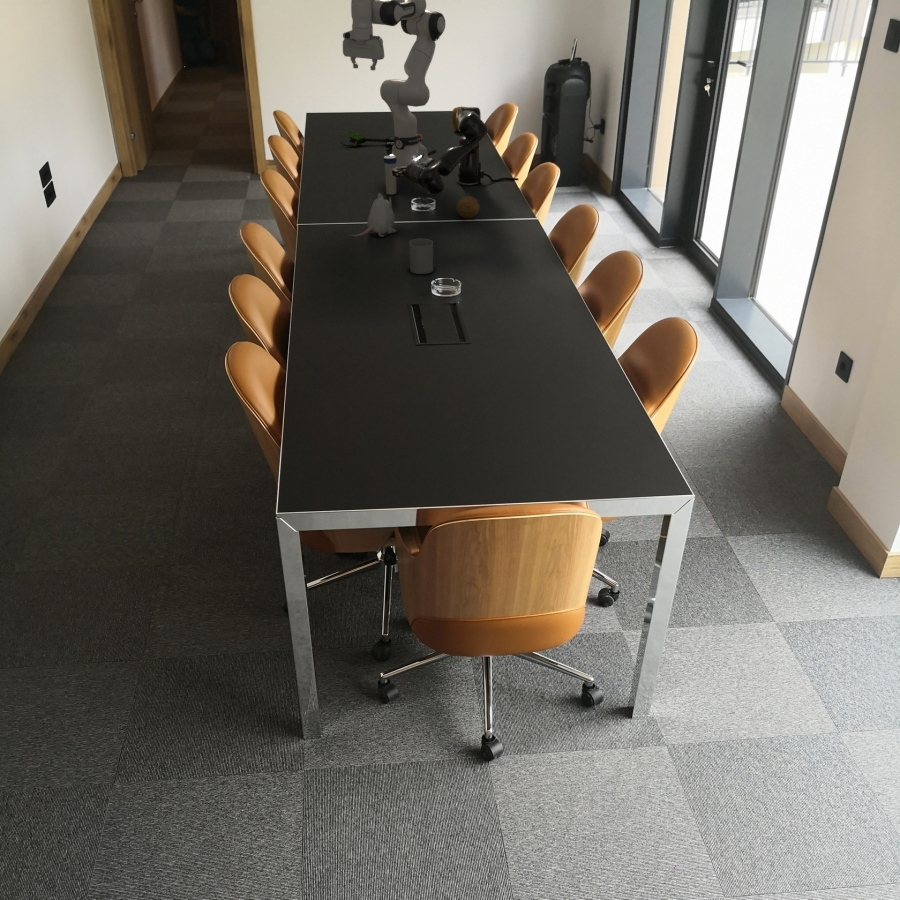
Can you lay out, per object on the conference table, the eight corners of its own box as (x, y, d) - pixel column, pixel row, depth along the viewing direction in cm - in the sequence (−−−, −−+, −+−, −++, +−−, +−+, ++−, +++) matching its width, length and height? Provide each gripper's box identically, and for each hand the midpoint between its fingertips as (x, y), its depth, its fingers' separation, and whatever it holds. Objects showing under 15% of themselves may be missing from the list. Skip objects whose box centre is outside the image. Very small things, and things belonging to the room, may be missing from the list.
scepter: (396, 128, 463) (340, 126, 461) (396, 143, 456) (339, 141, 454) (396, 138, 468) (340, 135, 466) (396, 153, 461) (339, 151, 459)
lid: (383, 160, 383) (383, 155, 382) (395, 160, 384) (395, 155, 382) (384, 164, 378) (384, 158, 377) (397, 163, 379) (396, 158, 378)
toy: (401, 232, 342) (400, 194, 334) (357, 247, 328) (354, 207, 320) (386, 227, 348) (384, 189, 339) (341, 241, 333) (338, 202, 325)
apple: (471, 132, 486) (471, 108, 479) (451, 132, 486) (451, 108, 479) (470, 128, 495) (471, 104, 488) (452, 128, 495) (452, 104, 488)
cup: (409, 265, 311) (408, 238, 306) (432, 265, 312) (431, 238, 307) (410, 274, 304) (409, 246, 299) (433, 273, 305) (433, 246, 299)
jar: (385, 191, 390) (384, 156, 382) (396, 191, 390) (394, 156, 382) (386, 194, 386) (385, 159, 378) (397, 194, 386) (395, 159, 378)
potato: (477, 211, 365) (478, 192, 361) (481, 222, 353) (481, 202, 349) (454, 211, 364) (454, 192, 360) (457, 222, 352) (457, 203, 348)
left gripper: (386, 35, 371) (387, 70, 378) (348, 32, 380) (350, 66, 387) (378, 37, 366) (379, 72, 374) (339, 33, 375) (341, 68, 383)
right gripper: (402, 186, 350) (389, 179, 364) (434, 179, 354) (421, 173, 368) (399, 167, 347) (386, 161, 360) (432, 160, 350) (418, 154, 364)
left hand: (364, 69), depth 380 cm, fingers open, 8 cm apart
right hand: (404, 167), depth 364 cm, fingers open, 8 cm apart
